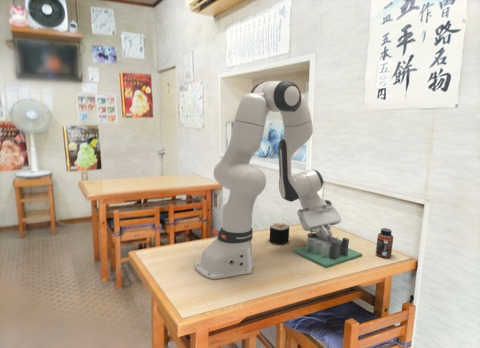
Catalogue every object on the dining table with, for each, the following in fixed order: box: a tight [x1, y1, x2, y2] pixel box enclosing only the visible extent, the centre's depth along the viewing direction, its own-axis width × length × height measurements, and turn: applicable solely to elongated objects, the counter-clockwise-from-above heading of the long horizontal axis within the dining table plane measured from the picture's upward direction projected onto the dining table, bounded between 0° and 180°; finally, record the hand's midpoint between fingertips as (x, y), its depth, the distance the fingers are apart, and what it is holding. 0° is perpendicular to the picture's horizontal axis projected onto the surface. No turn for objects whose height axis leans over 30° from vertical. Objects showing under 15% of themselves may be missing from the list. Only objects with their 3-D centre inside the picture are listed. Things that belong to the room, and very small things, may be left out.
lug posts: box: [330, 237, 350, 260], centre depth 137 cm, size 8×2×7 cm, turn 124°
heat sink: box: [305, 231, 342, 258], centre depth 143 cm, size 14×13×6 cm
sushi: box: [268, 222, 290, 246], centre depth 154 cm, size 8×8×8 cm
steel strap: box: [312, 231, 343, 245], centre depth 141 cm, size 4×13×1 cm, turn 34°
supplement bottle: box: [375, 227, 394, 259], centre depth 142 cm, size 6×6×11 cm
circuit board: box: [292, 245, 363, 269], centre depth 142 cm, size 22×18×1 cm
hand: (329, 236), depth 140 cm, fingers closed
